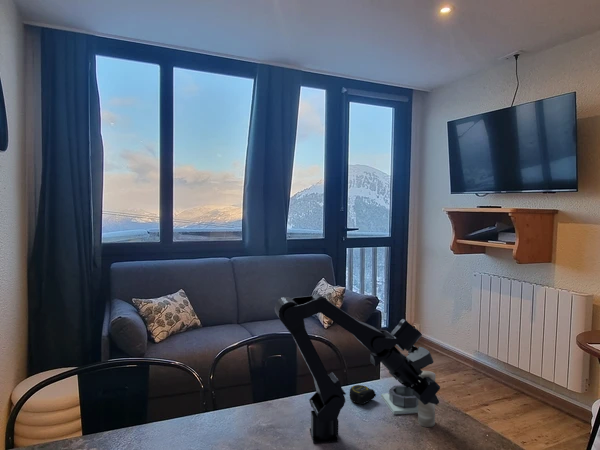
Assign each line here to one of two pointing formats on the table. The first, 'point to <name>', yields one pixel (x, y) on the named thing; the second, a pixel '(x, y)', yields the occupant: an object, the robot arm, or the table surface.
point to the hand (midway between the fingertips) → (431, 397)
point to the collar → (398, 396)
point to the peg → (426, 406)
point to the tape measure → (361, 394)
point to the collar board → (395, 408)
